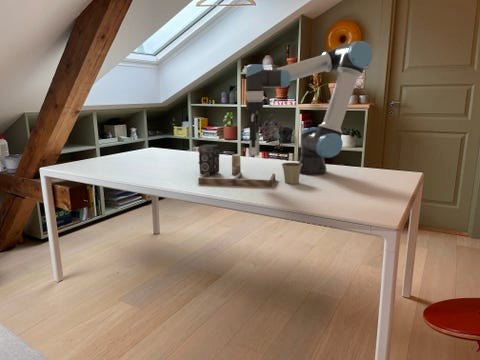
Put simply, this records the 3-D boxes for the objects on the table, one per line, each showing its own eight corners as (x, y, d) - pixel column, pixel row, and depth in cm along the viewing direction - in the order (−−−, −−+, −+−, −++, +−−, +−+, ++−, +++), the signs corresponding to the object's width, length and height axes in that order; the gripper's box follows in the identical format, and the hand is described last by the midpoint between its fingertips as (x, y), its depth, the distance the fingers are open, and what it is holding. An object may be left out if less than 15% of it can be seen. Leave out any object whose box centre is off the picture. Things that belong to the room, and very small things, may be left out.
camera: (195, 176, 181) (194, 146, 178) (203, 171, 191) (202, 143, 188) (214, 177, 178) (213, 147, 175) (222, 172, 188) (221, 144, 185)
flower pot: (277, 182, 167) (277, 164, 165) (290, 179, 172) (291, 161, 170) (292, 186, 160) (292, 167, 157) (305, 182, 165) (306, 164, 163)
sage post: (259, 154, 165) (259, 132, 163) (258, 155, 161) (258, 133, 158) (250, 153, 166) (250, 132, 163) (248, 155, 162) (248, 133, 159)
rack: (275, 179, 171) (275, 173, 171) (271, 187, 158) (272, 180, 157) (207, 177, 178) (206, 171, 177) (198, 184, 165) (198, 177, 164)
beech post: (241, 173, 186) (241, 154, 183) (239, 175, 181) (239, 156, 179) (233, 173, 186) (232, 154, 184) (231, 175, 182) (230, 155, 180)
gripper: (249, 100, 167) (249, 150, 172) (242, 101, 150) (242, 156, 156) (265, 100, 165) (265, 150, 171) (260, 101, 149) (259, 156, 154)
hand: (254, 153), depth 163 cm, fingers closed on sage post, 4 cm apart
